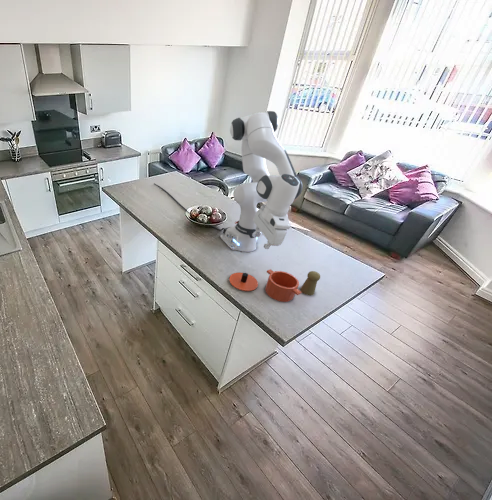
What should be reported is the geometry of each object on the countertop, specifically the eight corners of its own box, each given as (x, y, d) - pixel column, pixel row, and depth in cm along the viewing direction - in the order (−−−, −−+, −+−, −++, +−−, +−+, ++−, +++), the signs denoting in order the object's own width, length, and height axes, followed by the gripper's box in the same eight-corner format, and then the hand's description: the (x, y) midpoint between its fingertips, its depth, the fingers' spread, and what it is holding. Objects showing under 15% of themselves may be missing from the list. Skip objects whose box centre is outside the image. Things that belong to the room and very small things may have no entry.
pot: (284, 309, 128) (290, 295, 123) (255, 284, 141) (259, 272, 137) (304, 300, 132) (310, 287, 128) (274, 277, 146) (278, 265, 141)
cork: (302, 285, 141) (309, 267, 135) (315, 290, 138) (323, 272, 132) (298, 291, 137) (306, 273, 131) (312, 297, 134) (320, 279, 128)
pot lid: (242, 295, 135) (244, 286, 132) (223, 278, 145) (225, 270, 142) (263, 287, 140) (266, 278, 137) (243, 271, 150) (246, 263, 147)
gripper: (256, 201, 126) (245, 228, 134) (278, 227, 110) (264, 255, 118) (269, 203, 127) (258, 229, 135) (293, 228, 111) (278, 256, 119)
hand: (261, 241), depth 127 cm, fingers open, 8 cm apart
